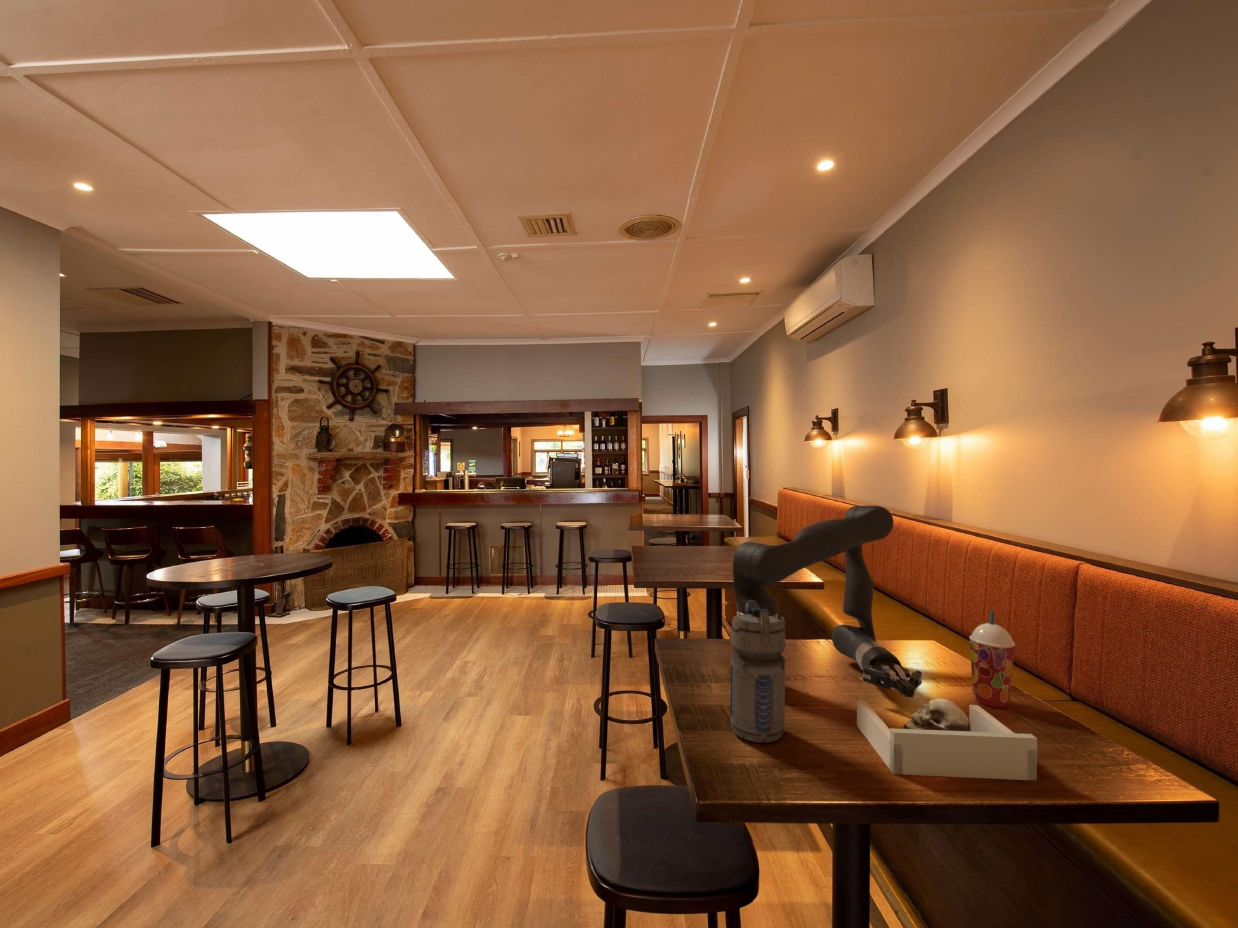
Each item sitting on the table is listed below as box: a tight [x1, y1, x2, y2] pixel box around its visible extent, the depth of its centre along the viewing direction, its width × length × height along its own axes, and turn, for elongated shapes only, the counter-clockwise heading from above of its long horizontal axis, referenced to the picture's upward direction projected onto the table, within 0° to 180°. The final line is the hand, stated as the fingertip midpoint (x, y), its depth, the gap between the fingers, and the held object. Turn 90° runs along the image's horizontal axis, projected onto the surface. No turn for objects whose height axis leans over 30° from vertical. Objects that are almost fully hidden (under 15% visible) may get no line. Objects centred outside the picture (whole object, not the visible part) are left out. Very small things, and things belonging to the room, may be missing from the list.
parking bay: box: [856, 700, 1038, 782], centre depth 103 cm, size 23×18×7 cm
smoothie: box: [968, 610, 1016, 708], centre depth 124 cm, size 8×8×20 cm
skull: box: [903, 698, 971, 732], centre depth 108 cm, size 12×10×10 cm
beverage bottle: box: [729, 600, 786, 744], centre depth 110 cm, size 10×13×25 cm
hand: (909, 692), depth 115 cm, fingers closed
